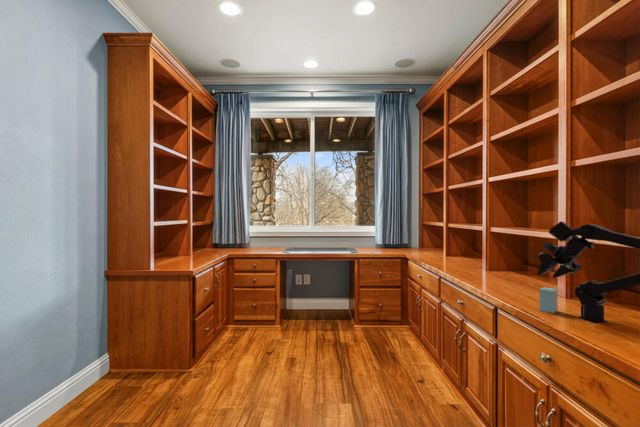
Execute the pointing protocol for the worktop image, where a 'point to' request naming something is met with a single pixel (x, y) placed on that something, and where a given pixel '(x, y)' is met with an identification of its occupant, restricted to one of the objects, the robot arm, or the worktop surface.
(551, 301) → the pale teal block
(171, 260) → the worktop surface
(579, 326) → the worktop surface
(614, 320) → the worktop surface
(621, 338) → the worktop surface
